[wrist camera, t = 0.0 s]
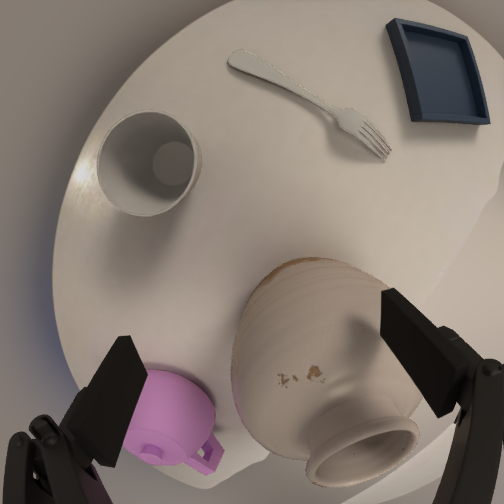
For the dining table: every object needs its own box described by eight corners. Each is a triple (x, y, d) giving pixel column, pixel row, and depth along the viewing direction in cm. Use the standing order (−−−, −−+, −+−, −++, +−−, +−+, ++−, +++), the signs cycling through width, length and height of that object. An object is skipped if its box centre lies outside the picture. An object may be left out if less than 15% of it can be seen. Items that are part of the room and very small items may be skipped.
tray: (385, 25, 24) (394, 17, 21) (457, 40, 23) (467, 36, 21) (411, 121, 28) (422, 119, 25) (479, 124, 27) (490, 124, 25)
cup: (126, 173, 29) (80, 179, 19) (167, 112, 27) (135, 91, 17) (182, 215, 30) (156, 237, 21) (227, 154, 29) (219, 148, 19)
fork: (239, 55, 27) (237, 45, 25) (393, 146, 29) (403, 143, 26) (227, 72, 28) (223, 64, 25) (382, 165, 29) (392, 164, 27)
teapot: (253, 406, 39) (256, 470, 28) (197, 445, 42) (191, 499, 31) (125, 328, 34) (90, 388, 23) (89, 384, 38) (61, 434, 26)
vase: (207, 309, 34) (174, 483, 12) (293, 203, 30) (405, 295, 9) (303, 367, 37) (344, 514, 15) (384, 283, 34) (499, 400, 12)
